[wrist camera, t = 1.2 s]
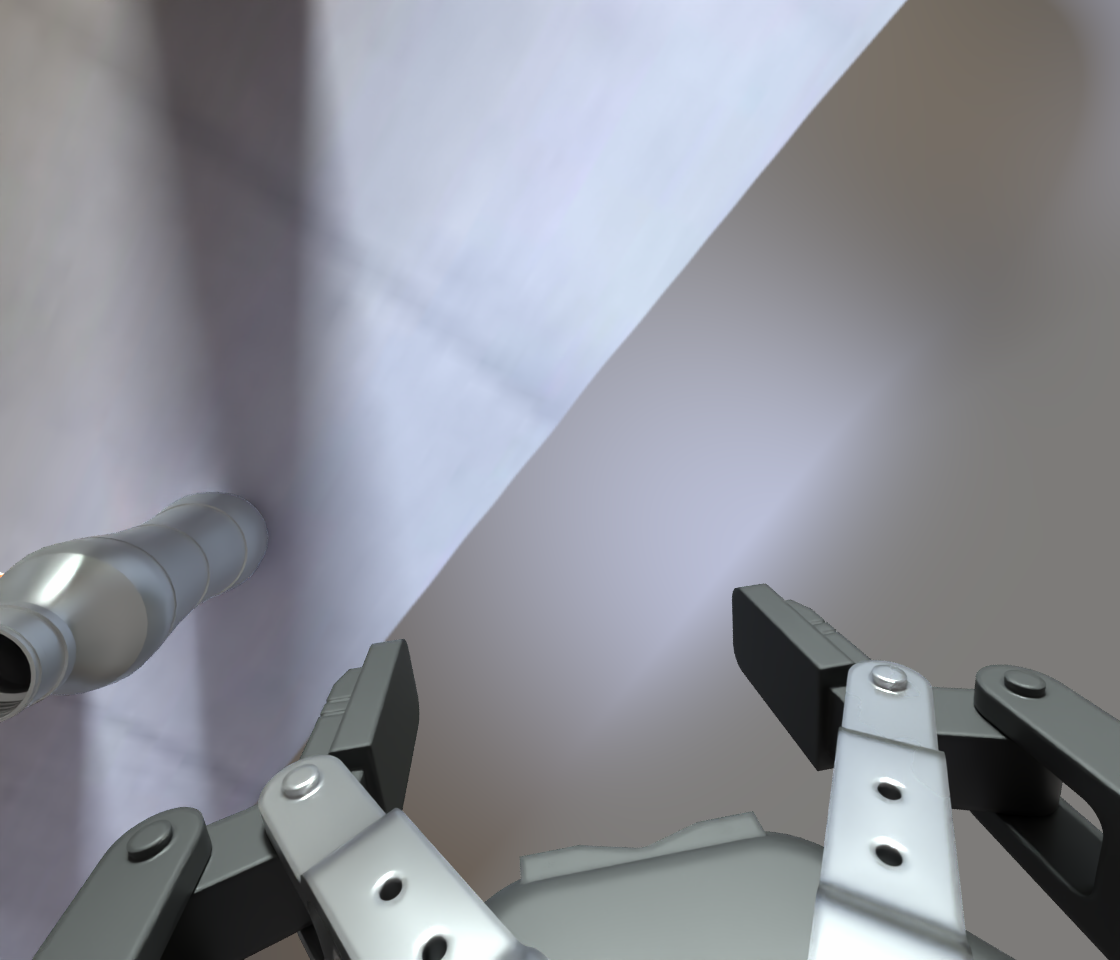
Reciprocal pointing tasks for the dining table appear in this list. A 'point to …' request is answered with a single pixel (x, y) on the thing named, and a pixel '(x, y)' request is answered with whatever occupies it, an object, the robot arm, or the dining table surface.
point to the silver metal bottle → (118, 596)
